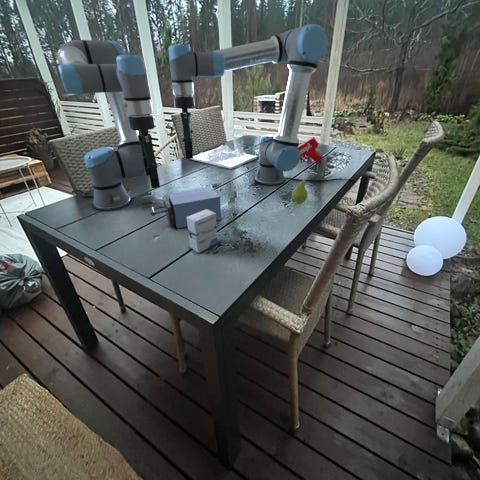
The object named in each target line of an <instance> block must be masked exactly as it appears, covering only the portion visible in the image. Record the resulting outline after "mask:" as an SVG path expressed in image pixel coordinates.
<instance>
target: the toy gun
mask: <svg viewBox="0 0 480 480" xmlns="http://www.w3.org/2000/svg"><path fill="white" fill-rule="evenodd" d="M318 147H319V142H318V141H317V139H316V138H315V137H314V136H313V137H311V138H309V139H308V140H306V141H305V142H303V143H302V144H301V145H298V150H299V152H300V159H302V158H303V159H304V160H308V159H309V158H311V159H312V160H314V161H315V164H316V165H318V164H319V163H320V162H321V163H322V161H323V159H324V156H323V155H322V154H321V153H320V152H319V151H317V148H318ZM316 162H319V163H316Z"/></svg>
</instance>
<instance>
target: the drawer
mask: <svg viewBox="0 0 480 480" xmlns="http://www.w3.org/2000/svg"><path fill="white" fill-rule="evenodd" d="M162 201H163V205H159V206H155V207H153V206H150V207H149V212H150V215H151V216H152V217H154V216H155V215H158V214H163V213H165V216H166V219H167V222H168V223H169V226H170V227H174V225H175V223H174V220H173V218H172V213H173V216H174V218H175V213H174V207H173V204H172V202H171V206H172V212H171V207H170V203H169V199H167V196H164V197H162ZM158 209H164V210H159V211H156V210H158Z"/></svg>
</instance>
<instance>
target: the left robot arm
mask: <svg viewBox="0 0 480 480" xmlns="http://www.w3.org/2000/svg"><path fill="white" fill-rule="evenodd" d="M56 56H57V61H58V64H59V65H58V67H57V69H58V72H59V75H60V79H61V82H62V85H63V88H64V91H65V92H66V93H67V94H70V95H72V94H74V95H82V94H83V95H84V94H102V93H105V95H106V98H107V101H108V105H109V108H110V112H111V115H112V120H113V122H114V125H115V128H116V132H117V136H118V139H119V143H118V145H117V150H115V149H114V148H113V147H111V146H107V147H99V148H96V149H93V150H90V151H88V152H87V153H86V154H85V155H84V157H83V158H84V163H85V168H86V169H87V172H88V175H89V179H90V182H91V185H92V188H93V194H86V191H84V190H82V189H72V191H71V194H74V193H76V192H77V193H78V192H80V193H82V194H81V197H83V198H93V200H92V204H93V207H94V208H95V209H96V210H99V211H114V210H119V209H122V208H124V207H126V206H128V205H129V204H130V203H131V201H132V200H131V196H130V194H129V193H128V191H127V189H126V188H125V187H124V185H123V182H122V180H123V179H128V178H129V179H130V178H135V177H140V176H146V177H148V176H149V181H150V188H151V189H159V188H161V184H160V178H159V174H158V173H159V172H158V165H157V159H156V156H155V155H156V154H155V150H154V143H153V136H152V135H151V133H149V130H153V129H155V128H156V125H155V119H154V118H155V117H154V115H153V113H154V110H153V103H152V100H151V95H150V89H149V83H148V82H149V81H148V76H147V68H146V65H145V60H144V58H143V56H142V55H136V54H135V55H133V54H126V52H125V50H124V48H123V46H122V45H121V43H119V42H118V41H115V40H109V39H106V40H98V39H97V40H96V39H95V40H94V39H73V40H70V41H67V42H65V43H64V44H62V45H61V46H60V47H59V48H58V50H57V55H56Z"/></svg>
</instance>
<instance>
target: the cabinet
mask: <svg viewBox="0 0 480 480" xmlns="http://www.w3.org/2000/svg"><path fill="white" fill-rule="evenodd" d="M167 197H168V202H169V205H170V207H171V212H172V206H171V202H172V204H173V207H174V213H175V218H174V216H173V213H172V218H173V223H174V225H175V227H176V229H180V228H181V229H182V228H186V227H188V225H187V217H188V216H190V215H193V214H195V213H198V212H201V211H203V210H206V209H208V210H210V211H212V212H214V213H216V221H219V220H220V221H221V220H222V209H221V196H220V195H219V194H218V193H217V191H216V190H215V189H214V188H213V187H212V186H210V187H208V186H207V187H203V188H202V187H201V188H196V189H191V190H186V191H184V190H183V191H178V192H171V193H168V194H167Z"/></svg>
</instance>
